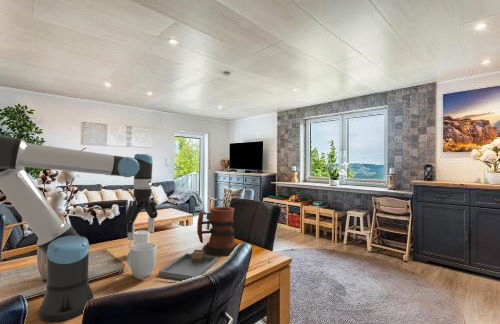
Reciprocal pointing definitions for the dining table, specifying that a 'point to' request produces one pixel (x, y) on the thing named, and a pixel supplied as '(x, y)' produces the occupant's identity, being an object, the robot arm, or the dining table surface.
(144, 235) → the mug
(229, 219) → the tankard
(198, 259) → the walnut block
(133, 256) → the mug
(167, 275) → the tray
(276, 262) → the dining table surface
